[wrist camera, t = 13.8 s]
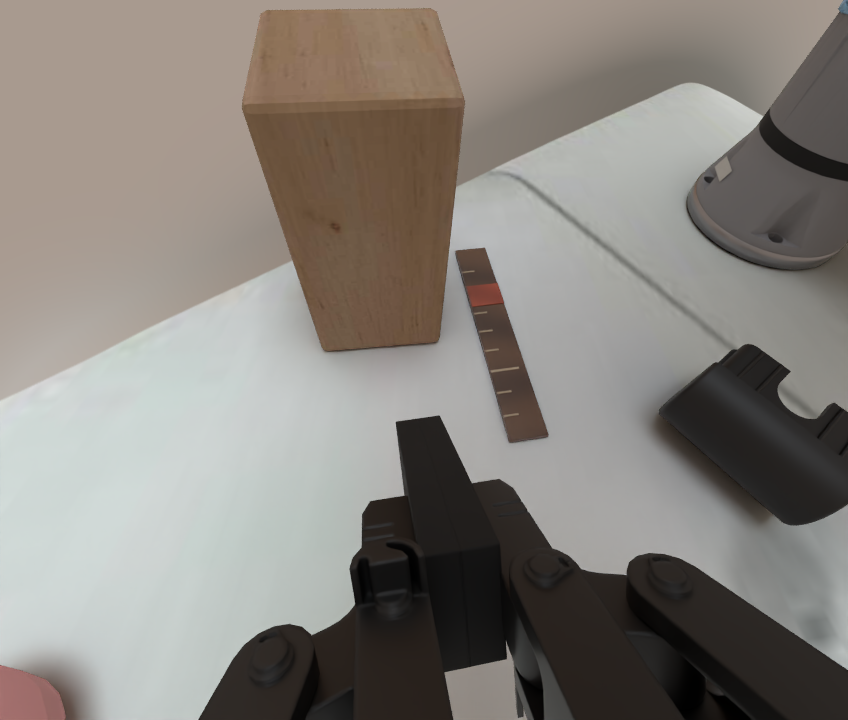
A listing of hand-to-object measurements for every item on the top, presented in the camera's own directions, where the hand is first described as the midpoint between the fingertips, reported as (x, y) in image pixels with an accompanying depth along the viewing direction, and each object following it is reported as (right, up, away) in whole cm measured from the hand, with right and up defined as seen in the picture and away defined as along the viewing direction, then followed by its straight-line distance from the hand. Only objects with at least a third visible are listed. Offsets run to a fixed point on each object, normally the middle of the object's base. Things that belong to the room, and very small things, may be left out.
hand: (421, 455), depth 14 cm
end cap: (+23, -4, +17) cm, 29 cm away
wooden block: (-4, +8, +24) cm, 25 cm away
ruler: (+6, +6, +22) cm, 24 cm away
